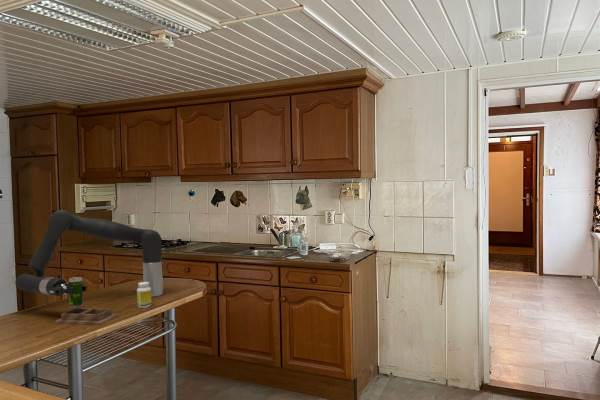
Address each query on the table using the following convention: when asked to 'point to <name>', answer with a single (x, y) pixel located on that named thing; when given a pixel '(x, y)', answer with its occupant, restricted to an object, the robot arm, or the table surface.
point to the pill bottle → (143, 295)
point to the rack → (86, 316)
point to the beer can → (76, 292)
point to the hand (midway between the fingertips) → (80, 290)
